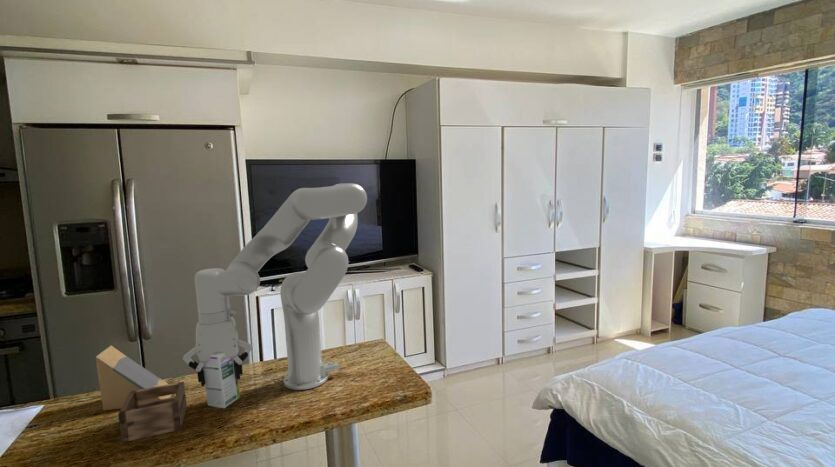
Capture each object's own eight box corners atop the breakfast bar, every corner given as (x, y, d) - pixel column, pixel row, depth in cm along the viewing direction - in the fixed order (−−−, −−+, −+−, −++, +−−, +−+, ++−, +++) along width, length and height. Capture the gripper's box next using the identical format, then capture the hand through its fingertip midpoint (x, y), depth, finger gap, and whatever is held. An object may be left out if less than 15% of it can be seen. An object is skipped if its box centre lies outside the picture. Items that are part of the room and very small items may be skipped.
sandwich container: (166, 403, 119) (159, 349, 117) (102, 411, 115) (94, 356, 114) (176, 388, 127) (170, 338, 125) (117, 396, 124) (110, 344, 122)
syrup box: (224, 408, 114) (219, 355, 112) (206, 406, 116) (200, 353, 114) (240, 398, 119) (235, 346, 117) (222, 395, 121) (217, 344, 119)
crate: (186, 406, 116) (183, 381, 115) (181, 429, 105) (178, 402, 104) (133, 416, 112) (130, 391, 111) (122, 442, 101) (118, 414, 100)
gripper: (250, 307, 121) (255, 368, 123) (179, 317, 115) (186, 381, 117) (250, 315, 114) (256, 379, 116) (175, 326, 108) (182, 394, 110)
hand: (221, 380), depth 117 cm, fingers closed on syrup box, 8 cm apart
